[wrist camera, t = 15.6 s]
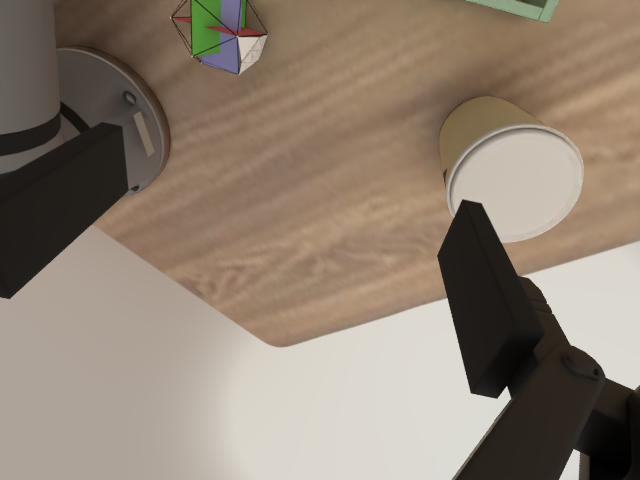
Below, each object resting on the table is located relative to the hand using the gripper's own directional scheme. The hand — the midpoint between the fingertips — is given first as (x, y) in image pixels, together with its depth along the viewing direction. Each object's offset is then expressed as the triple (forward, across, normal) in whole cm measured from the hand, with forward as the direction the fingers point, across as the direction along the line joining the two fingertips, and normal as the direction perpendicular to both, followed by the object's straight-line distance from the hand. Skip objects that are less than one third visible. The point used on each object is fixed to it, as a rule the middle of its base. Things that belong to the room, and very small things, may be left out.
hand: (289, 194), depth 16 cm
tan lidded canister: (+25, +15, -3) cm, 30 cm away
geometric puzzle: (+26, -10, +2) cm, 28 cm away
